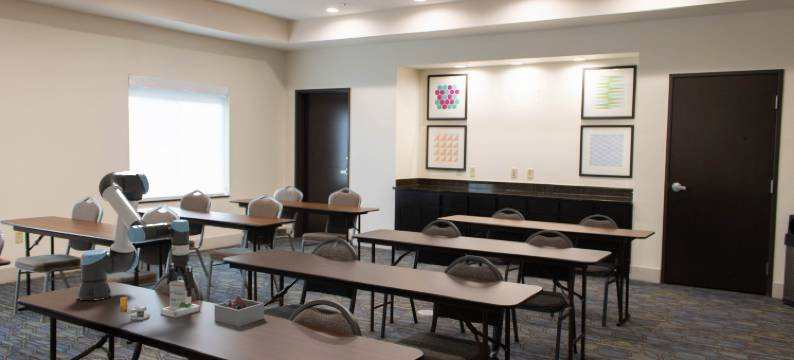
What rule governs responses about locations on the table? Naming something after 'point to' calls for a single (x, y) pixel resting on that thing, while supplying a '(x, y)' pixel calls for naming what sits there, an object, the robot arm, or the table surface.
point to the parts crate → (239, 313)
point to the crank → (124, 307)
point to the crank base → (140, 316)
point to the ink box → (178, 294)
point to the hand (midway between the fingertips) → (180, 301)
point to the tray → (179, 310)
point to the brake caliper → (236, 303)
